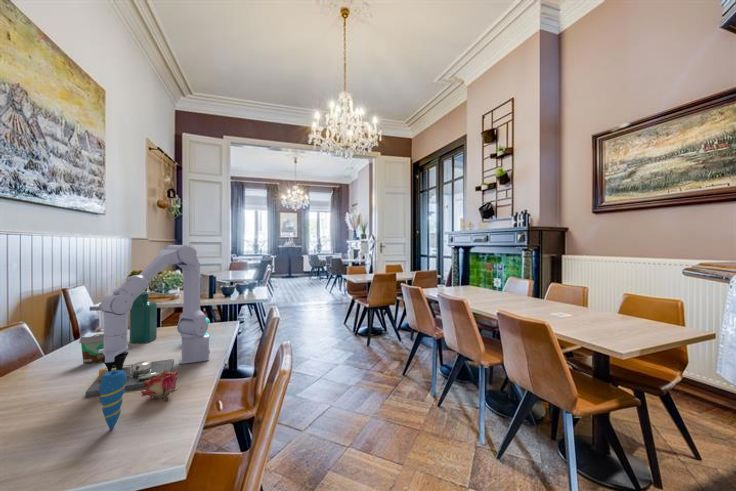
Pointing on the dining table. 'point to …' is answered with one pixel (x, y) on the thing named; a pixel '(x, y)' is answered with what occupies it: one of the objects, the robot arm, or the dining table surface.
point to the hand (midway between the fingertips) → (115, 378)
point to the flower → (160, 385)
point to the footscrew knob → (138, 369)
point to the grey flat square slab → (135, 377)
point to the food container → (92, 348)
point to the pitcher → (143, 319)
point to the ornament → (112, 395)
